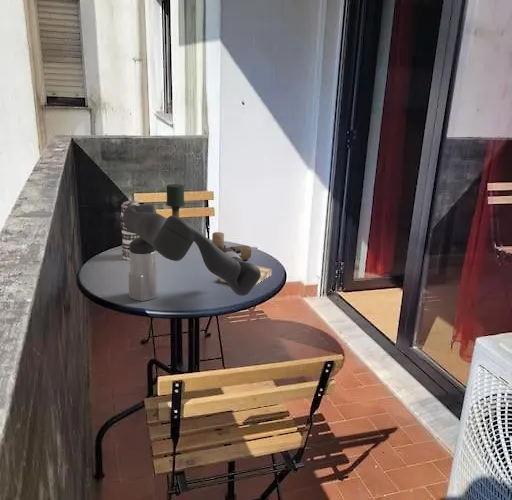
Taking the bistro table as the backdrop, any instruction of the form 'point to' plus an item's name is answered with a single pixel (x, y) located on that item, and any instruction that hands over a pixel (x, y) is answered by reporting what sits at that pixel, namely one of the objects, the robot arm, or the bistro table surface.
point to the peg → (218, 239)
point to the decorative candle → (127, 235)
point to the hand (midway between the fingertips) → (215, 247)
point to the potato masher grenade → (175, 197)
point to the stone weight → (244, 251)
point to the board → (264, 274)
